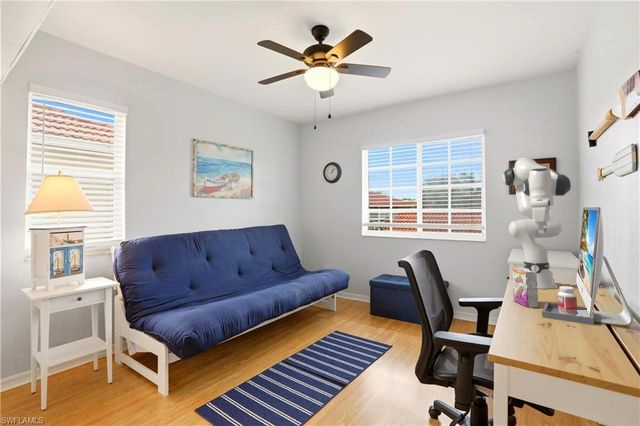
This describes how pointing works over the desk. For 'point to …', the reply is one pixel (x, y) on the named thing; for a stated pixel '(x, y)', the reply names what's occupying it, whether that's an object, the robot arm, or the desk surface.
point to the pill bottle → (567, 301)
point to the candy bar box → (525, 287)
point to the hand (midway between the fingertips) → (543, 232)
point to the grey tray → (553, 313)
